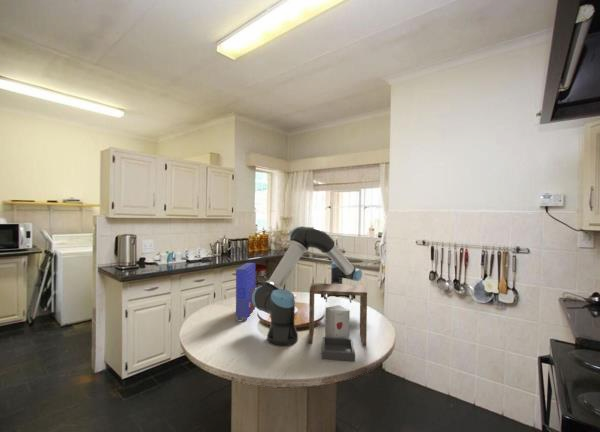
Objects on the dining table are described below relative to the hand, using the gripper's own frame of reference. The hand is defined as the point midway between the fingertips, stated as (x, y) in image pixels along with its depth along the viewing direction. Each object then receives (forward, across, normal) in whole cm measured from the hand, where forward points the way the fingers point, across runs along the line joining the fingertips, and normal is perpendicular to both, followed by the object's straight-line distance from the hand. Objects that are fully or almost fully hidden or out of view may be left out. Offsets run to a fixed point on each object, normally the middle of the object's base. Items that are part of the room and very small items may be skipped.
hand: (338, 300), depth 159 cm
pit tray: (+32, +2, -14) cm, 35 cm away
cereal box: (-10, +56, -14) cm, 59 cm away
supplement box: (+18, +1, -14) cm, 23 cm away
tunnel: (+17, +1, -14) cm, 22 cm away
